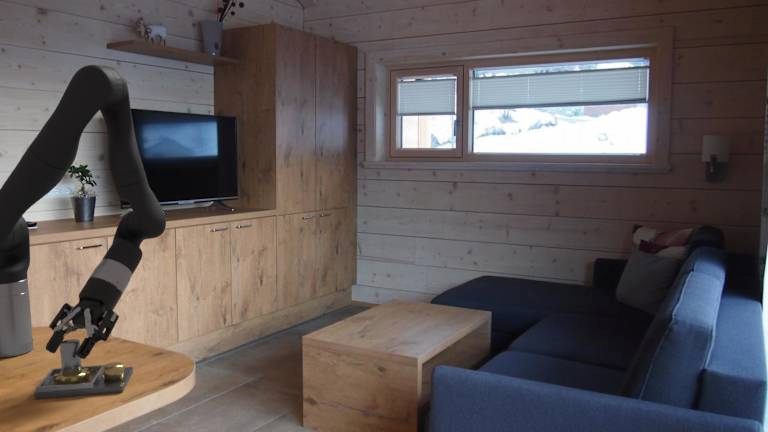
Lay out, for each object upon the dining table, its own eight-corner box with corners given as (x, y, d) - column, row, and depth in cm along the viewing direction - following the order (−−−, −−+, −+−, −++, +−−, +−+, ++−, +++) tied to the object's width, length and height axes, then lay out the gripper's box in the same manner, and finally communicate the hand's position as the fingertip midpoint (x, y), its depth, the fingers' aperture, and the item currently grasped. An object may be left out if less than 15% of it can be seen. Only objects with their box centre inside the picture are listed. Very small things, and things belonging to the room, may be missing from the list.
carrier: (35, 399, 126) (33, 380, 125) (52, 378, 137) (51, 361, 136) (122, 392, 129) (121, 374, 128) (133, 372, 140) (131, 355, 139)
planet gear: (49, 387, 128) (46, 348, 127) (59, 375, 135) (56, 338, 134) (86, 385, 129) (83, 346, 128) (94, 372, 136) (91, 335, 135)
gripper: (71, 273, 139) (26, 341, 130) (121, 278, 133) (78, 350, 124) (92, 291, 145) (52, 358, 136) (141, 297, 139) (102, 367, 130)
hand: (64, 354), depth 130 cm, fingers open, 8 cm apart
